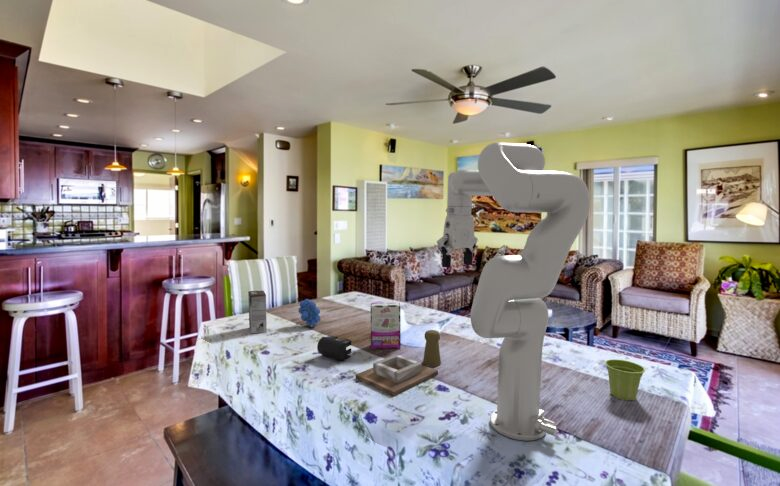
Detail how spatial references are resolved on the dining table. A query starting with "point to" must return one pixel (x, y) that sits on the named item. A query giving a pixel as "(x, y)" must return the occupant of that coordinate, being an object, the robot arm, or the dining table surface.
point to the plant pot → (624, 378)
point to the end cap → (334, 347)
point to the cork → (432, 348)
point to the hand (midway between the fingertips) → (457, 265)
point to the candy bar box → (385, 326)
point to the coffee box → (257, 311)
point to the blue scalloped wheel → (309, 312)
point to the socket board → (396, 374)
